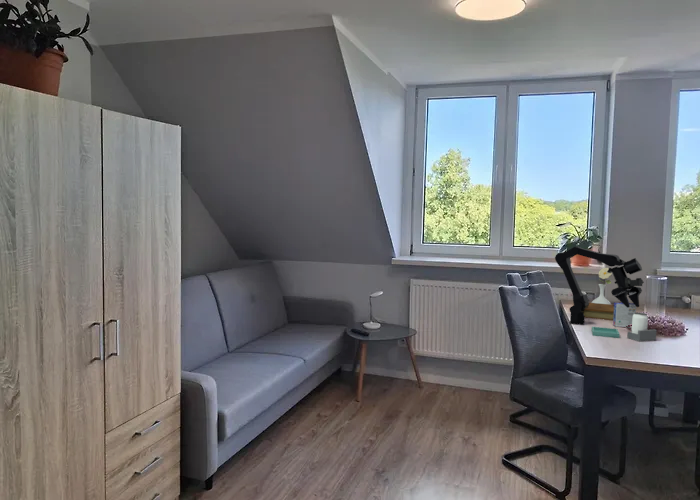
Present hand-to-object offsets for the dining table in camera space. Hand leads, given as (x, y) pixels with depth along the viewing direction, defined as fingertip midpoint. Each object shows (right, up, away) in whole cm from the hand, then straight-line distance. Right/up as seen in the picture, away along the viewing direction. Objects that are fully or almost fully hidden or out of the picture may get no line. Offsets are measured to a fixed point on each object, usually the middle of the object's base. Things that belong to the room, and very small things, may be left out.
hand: (633, 307), depth 266 cm
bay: (-2, -14, -11) cm, 18 cm away
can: (-3, -14, -10) cm, 17 cm away
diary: (+4, -10, +44) cm, 46 cm away
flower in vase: (+19, -8, +74) cm, 77 cm away
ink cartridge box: (+4, -12, +17) cm, 21 cm away
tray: (-15, -13, -3) cm, 20 cm away
